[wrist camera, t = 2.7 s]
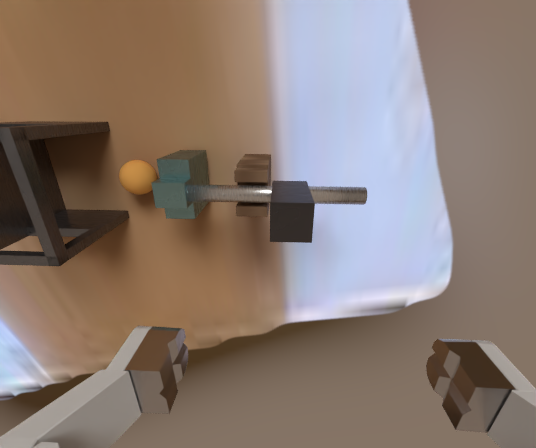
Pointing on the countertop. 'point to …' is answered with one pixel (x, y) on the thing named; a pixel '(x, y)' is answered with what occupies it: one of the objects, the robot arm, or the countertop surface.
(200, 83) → the countertop surface
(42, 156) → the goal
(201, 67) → the countertop surface
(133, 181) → the ball
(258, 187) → the rod
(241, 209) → the rod cradle
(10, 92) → the countertop surface
